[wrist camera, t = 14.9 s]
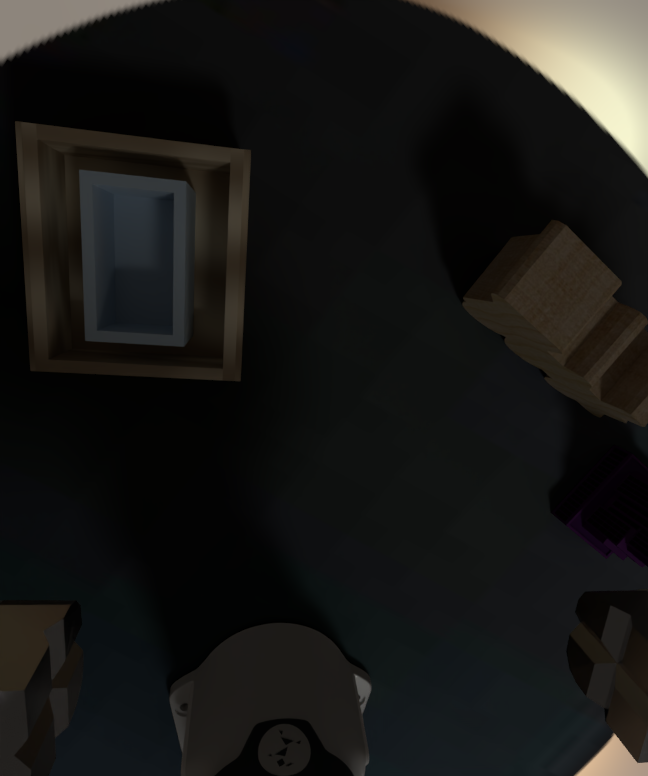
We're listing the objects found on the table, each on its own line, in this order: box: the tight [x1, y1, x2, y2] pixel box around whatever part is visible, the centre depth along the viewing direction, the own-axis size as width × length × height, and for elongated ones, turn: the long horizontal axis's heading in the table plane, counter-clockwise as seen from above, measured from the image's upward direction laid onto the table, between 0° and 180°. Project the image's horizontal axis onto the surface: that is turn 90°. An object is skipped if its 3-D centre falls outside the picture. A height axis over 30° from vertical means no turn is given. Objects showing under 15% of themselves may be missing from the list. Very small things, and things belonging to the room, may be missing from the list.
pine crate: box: [15, 121, 251, 381], centre depth 33 cm, size 15×13×5 cm
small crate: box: [79, 170, 196, 347], centre depth 32 cm, size 10×6×5 cm, turn 175°
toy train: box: [462, 220, 648, 427], centre depth 36 cm, size 6×17×10 cm, turn 51°
